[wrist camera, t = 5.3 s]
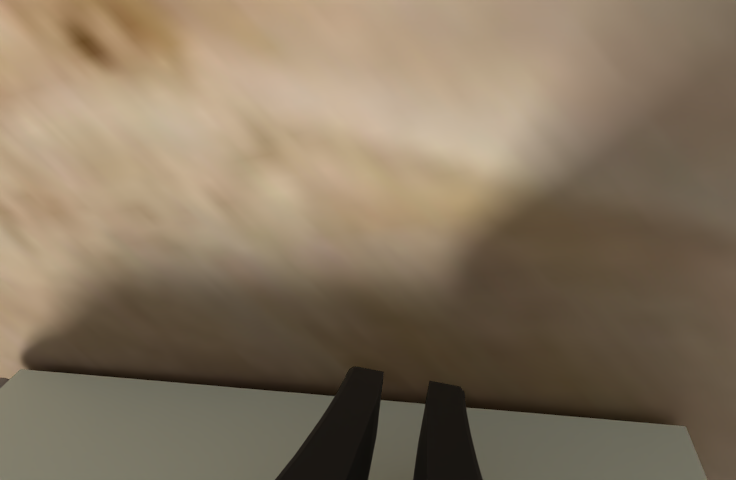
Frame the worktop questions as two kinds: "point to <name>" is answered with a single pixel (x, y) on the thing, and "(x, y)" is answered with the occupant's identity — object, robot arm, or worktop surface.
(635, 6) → the worktop surface
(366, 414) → the robot arm
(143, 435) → the cabinet door
